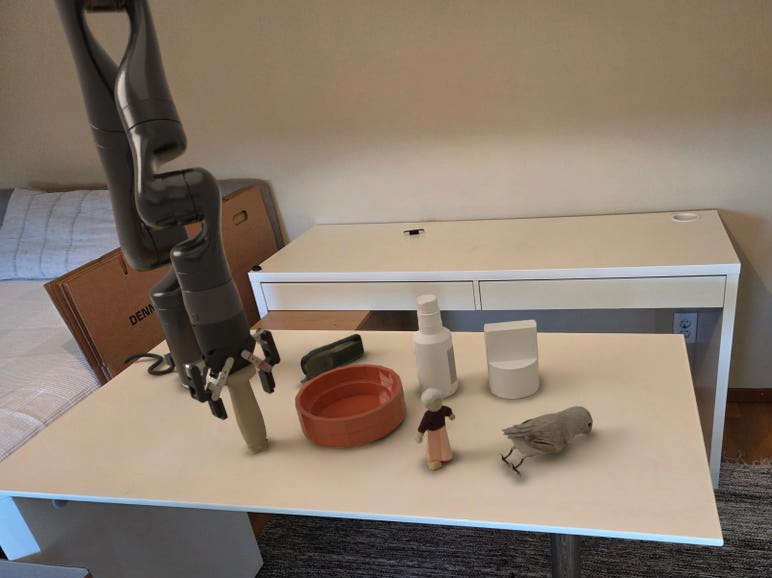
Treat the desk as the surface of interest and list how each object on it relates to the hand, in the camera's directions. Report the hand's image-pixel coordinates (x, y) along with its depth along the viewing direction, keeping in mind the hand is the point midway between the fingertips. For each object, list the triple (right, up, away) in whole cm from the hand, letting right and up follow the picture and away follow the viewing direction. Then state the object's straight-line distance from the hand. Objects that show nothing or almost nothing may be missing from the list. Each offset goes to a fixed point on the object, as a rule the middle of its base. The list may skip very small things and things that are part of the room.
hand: (246, 404), depth 100 cm
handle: (+1, -8, +4) cm, 9 cm away
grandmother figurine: (+31, -8, -3) cm, 32 cm away
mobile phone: (+8, +5, +26) cm, 27 cm away
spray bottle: (+29, +2, +15) cm, 33 cm away
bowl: (+15, -3, +9) cm, 18 cm away
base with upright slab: (+43, +2, +14) cm, 45 cm away
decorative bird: (+47, -7, -4) cm, 48 cm away
